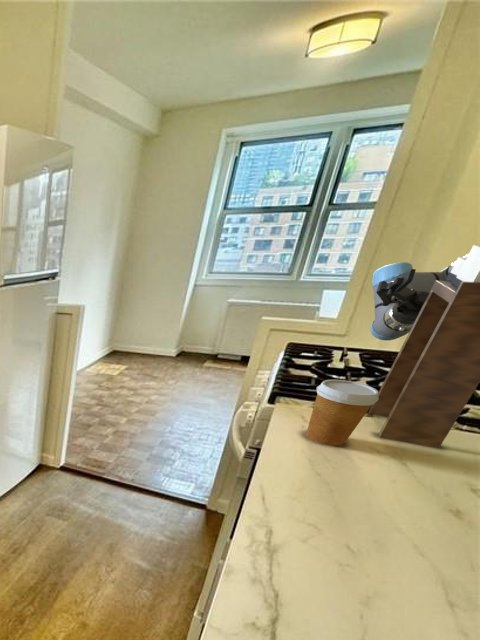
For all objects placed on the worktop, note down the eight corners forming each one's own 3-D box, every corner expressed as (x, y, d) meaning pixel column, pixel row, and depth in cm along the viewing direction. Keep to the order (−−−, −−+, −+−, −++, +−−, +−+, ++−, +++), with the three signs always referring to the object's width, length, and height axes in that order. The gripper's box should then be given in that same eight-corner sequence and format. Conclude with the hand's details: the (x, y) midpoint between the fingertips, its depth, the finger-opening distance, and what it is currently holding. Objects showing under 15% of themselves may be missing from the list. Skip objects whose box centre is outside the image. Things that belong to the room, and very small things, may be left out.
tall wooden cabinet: (420, 421, 110) (506, 273, 94) (438, 449, 98) (538, 286, 83) (367, 412, 114) (440, 270, 99) (378, 438, 103) (463, 282, 87)
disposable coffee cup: (361, 443, 101) (390, 389, 95) (341, 455, 97) (369, 399, 91) (308, 426, 108) (331, 375, 103) (287, 436, 104) (310, 384, 98)
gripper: (477, 332, 116) (536, 300, 97) (342, 319, 128) (371, 289, 110) (488, 301, 115) (550, 264, 97) (351, 291, 128) (382, 257, 110)
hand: (455, 277), depth 103 cm, fingers open, 13 cm apart
